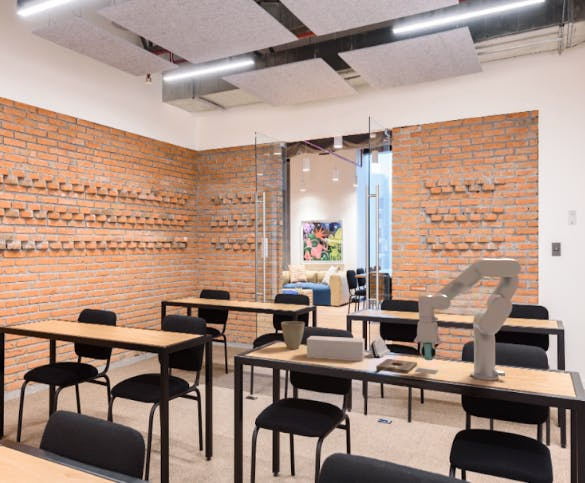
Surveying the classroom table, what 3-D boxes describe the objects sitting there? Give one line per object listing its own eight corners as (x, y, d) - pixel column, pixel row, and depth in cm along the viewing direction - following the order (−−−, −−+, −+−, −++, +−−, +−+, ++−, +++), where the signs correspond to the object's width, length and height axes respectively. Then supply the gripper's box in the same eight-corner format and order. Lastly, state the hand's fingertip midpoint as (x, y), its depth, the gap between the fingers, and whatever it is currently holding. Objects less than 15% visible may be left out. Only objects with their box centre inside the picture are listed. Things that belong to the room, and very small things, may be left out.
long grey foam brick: (306, 357, 261) (306, 339, 261) (310, 353, 272) (310, 335, 272) (362, 361, 253) (362, 342, 254) (364, 357, 264) (364, 338, 264)
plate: (438, 373, 229) (438, 370, 229) (434, 377, 222) (434, 374, 222) (418, 370, 233) (418, 367, 233) (414, 374, 226) (414, 371, 226)
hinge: (380, 358, 260) (374, 341, 262) (373, 360, 263) (367, 343, 265) (390, 352, 274) (385, 336, 276) (383, 354, 277) (378, 338, 279)
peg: (433, 358, 228) (432, 342, 228) (431, 360, 225) (431, 344, 225) (425, 358, 230) (424, 342, 230) (423, 359, 227) (423, 343, 227)
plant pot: (304, 345, 293) (304, 320, 294) (305, 350, 278) (305, 324, 279) (281, 345, 293) (281, 320, 293) (280, 350, 278) (280, 324, 279)
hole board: (416, 368, 239) (416, 362, 239) (407, 376, 223) (407, 369, 223) (387, 364, 247) (387, 358, 247) (376, 371, 231) (376, 365, 231)
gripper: (445, 319, 227) (447, 355, 227) (412, 317, 235) (413, 353, 235) (442, 321, 221) (444, 359, 220) (408, 320, 229) (410, 356, 228)
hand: (428, 355), depth 227 cm, fingers closed on peg, 4 cm apart
